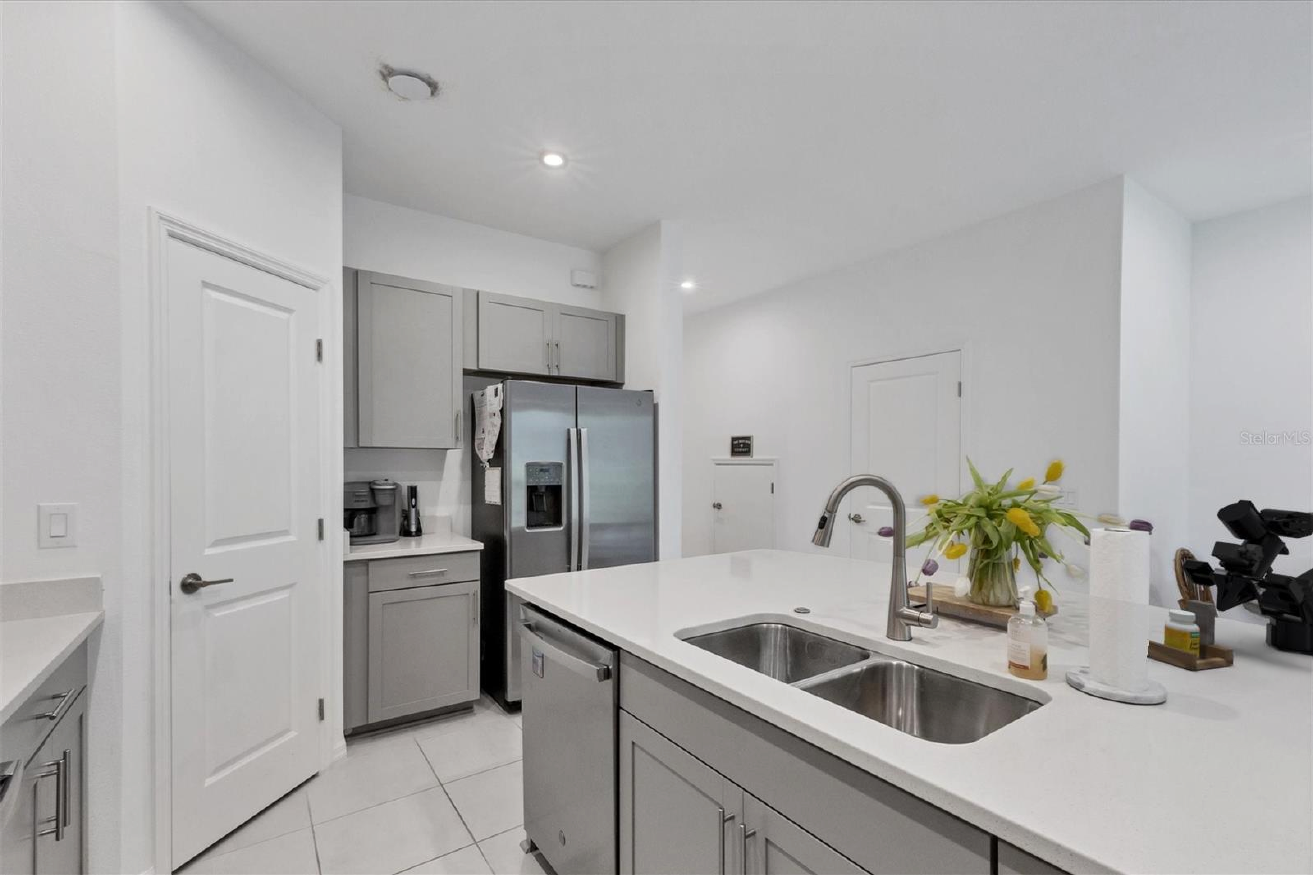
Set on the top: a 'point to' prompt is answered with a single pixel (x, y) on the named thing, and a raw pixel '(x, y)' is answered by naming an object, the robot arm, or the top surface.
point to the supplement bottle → (1182, 631)
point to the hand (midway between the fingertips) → (1219, 610)
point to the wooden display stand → (1207, 648)
